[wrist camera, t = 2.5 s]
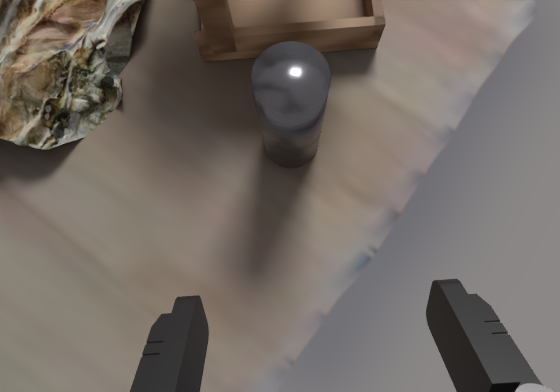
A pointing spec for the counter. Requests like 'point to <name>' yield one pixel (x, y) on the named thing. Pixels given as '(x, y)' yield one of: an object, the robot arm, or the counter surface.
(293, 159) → the cylinder
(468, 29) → the counter surface
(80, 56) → the rock
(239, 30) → the stand
